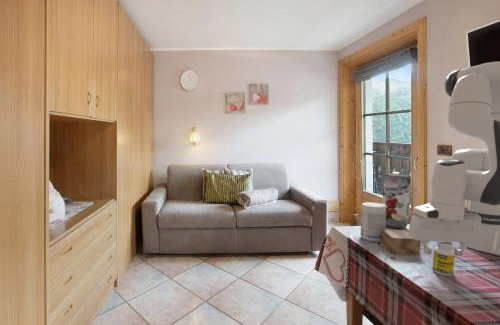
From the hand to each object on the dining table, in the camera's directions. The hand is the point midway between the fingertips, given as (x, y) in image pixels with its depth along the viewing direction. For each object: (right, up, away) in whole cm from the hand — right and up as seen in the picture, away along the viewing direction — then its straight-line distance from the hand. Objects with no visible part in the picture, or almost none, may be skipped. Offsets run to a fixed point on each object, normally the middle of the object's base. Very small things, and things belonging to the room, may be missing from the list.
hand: (442, 254), depth 86 cm
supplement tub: (-9, -4, +30) cm, 32 cm away
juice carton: (+9, -3, +46) cm, 47 cm away
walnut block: (-3, -4, +19) cm, 20 cm away
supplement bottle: (0, -6, +1) cm, 6 cm away
